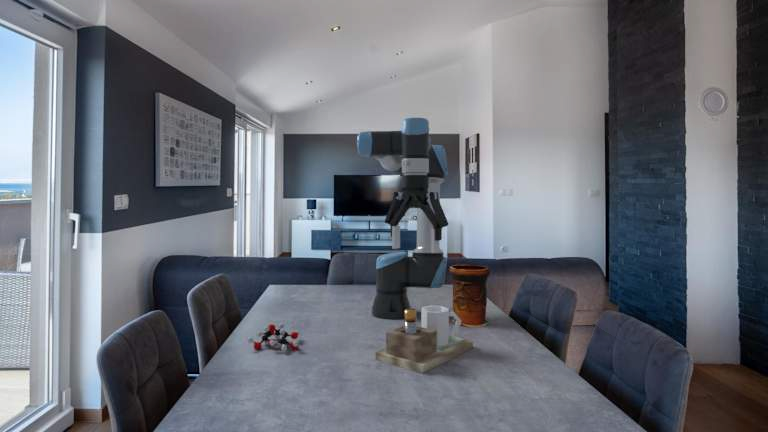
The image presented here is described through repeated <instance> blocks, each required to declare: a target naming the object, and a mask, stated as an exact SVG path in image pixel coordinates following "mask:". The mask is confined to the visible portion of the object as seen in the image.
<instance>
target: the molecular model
mask: <svg viewBox="0 0 768 432" xmlns="http://www.w3.org/2000/svg"><path fill="white" fill-rule="evenodd" d="M278 327H279V328H278V329H276V325H275V324H272V323H270V324H269V325H268V326H264V327H263V331H264V332H262V331H260V330H259V331H257V333H256V337H259V338H261V341H255V340H254V339H253V337H251V336H250V337H249V336H248V338H247V340H246V341H247V343H249V344H250V343H253V349H254V350H256V351H257V350H258V351H259V350H261V348H262V345H263V344H264V345H265V346H269V347H272V348H273V347H276V345H277V344H280V345H281V350H282V351H283V352H285V351H287V349H288V347H287V345H288V346H290V348H291V350H293V351H295V350H297V349H298V348H299V341H297V339H298V337H299V334H300V332H299V331H298V330H294V331H293V332H291V333H290V334H289V333H288V331H286V330H285V329H284V328H285V324H284V323H283V322H282V323H281V322H280V323H279V324H278ZM272 336H274V338H271V339H269V338H270V337H272ZM288 337H291V339H292V340H290V341H288V339H287V338H288ZM294 340H295V341H294ZM263 342H264V343H263Z"/></svg>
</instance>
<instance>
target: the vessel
mask: <svg viewBox="0 0 768 432" xmlns="http://www.w3.org/2000/svg"><path fill="white" fill-rule="evenodd" d="M449 273H450V275H451V277H452V310H453V311H452V312H454V313H455V314H456V315H457V316H458V317H459V319H460V320H461V324H460V326H461V325H462V326H465V327H468V328H469V327H472V328H473V327H474V328H476V327H485V326H487V325H488V322H489V321H487V320H486V315H487V314H486V313H487V309H486V308H487V305H488V304H487V302H488V300H487V298H488V297H487V281H488V278H489V276H490V273H491V271H490V268H489V267H488V266H486V265H478V264H475V265H474V264H454V265H451V266H449ZM451 322H453V323H456V319H455V318H453V319H452V320H451Z"/></svg>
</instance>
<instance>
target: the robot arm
mask: <svg viewBox="0 0 768 432" xmlns="http://www.w3.org/2000/svg"><path fill="white" fill-rule="evenodd" d="M429 124H430V122H429V120H428V119H427V118H426V117H425V118H424V117H407V118H404V119H403V120H402V122H401V130H386V131H385V130H381V131H380V130H377V131H376V130H375V131H373V130H372V131H371V130H367V131H361V132H359V133H358V135H357V137H356V138H357V140H356V148H357V150H356V151H357V152H358V155H359V156H360V157H367V158H369V157H373V158H374V159H376V160H377V161H378V162H379V163H380V165H381V167H382V168H383V169H384V170H386V171H387V172H390V173H393V174H395V175H399V176H401V188H402V191H393V196H392V197H393V198H392V200H391V203H390V207H389V208H388V211H387V214H386V217H385V220H384V223H385V224H388V225H389V226H390V237H391V238H392V241H391V243H392V244H391V248H392V250H393V249H394V250H396V249H401V225H400V222H401V221H402V220H403V217H404V216H405V214H406V213H407V212H408V211H409V210H410V209H414V208H415V209H416V248H414V249H413V251H412V255H411V256H408V254H407V252H405V251H403V252H402V251H400V252H399V251H396V252H391V253H390V252H389V253H385V254H384V253H383V254H381V255H379V256H378V257H377V258H376V265H375V266H376V267H375V270H376V271H375V273H376V275H375V278H376V279H375V280H376V281H375V284H376V288H375V289H376V293H375V298H374V301H373V303H372V304H373V305H372V307H371V314H372V316H373V317H374V318H378V319H387V320H388V319H389V320H390V319H392V320H393V319H396V320H397V319H402V318H404V319H405V309H412V306H411V304H410V300H409V298H408V297H409V296H408V293H407V290H408V289H407V288H419V289H431V290H432V289H440V288H442V287H443V286H444V283H445V279H446V278H445V277H446V271H447V263H448V257H446V256H444V251H443V250H442V249H441V247H440V241H441V240H442V234H443V233H442V230H443V228H445V227H448V226H449V222H448V219H447V217H446V214H445V212H444V210H443V207H442V205H441V184H442V183H443V182H444V181H445V177H446V176H449V172H448V163H447V162H448V161H447V157H446V155H447V154H446V149H445V147H444V146H443V145H441V144H432V138H431V136H430V125H429ZM402 199H403V200H402Z"/></svg>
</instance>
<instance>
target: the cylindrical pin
mask: <svg viewBox="0 0 768 432" xmlns="http://www.w3.org/2000/svg"><path fill="white" fill-rule="evenodd" d="M404 326H405V333H406V334H410V335H415V334H417V326H418V325H417V309H415V308H411V309H405V317H404Z"/></svg>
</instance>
